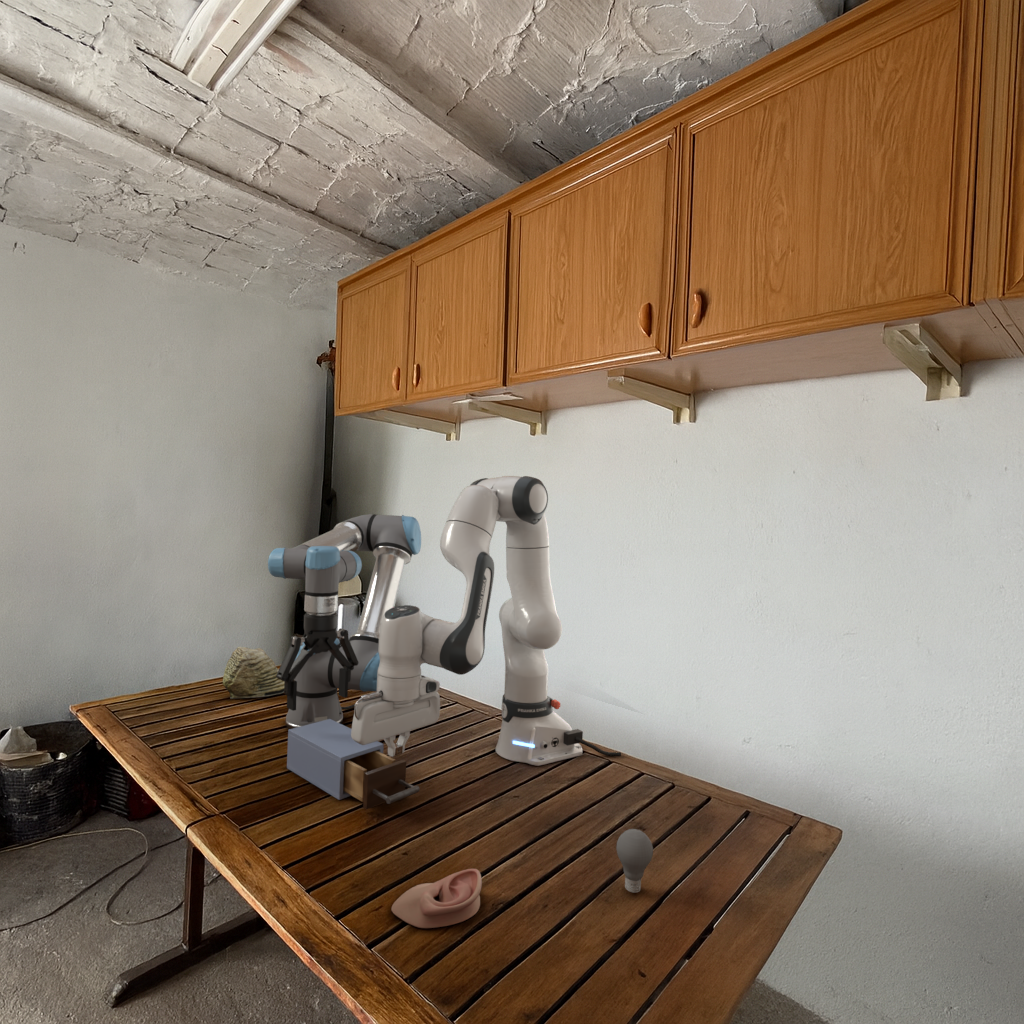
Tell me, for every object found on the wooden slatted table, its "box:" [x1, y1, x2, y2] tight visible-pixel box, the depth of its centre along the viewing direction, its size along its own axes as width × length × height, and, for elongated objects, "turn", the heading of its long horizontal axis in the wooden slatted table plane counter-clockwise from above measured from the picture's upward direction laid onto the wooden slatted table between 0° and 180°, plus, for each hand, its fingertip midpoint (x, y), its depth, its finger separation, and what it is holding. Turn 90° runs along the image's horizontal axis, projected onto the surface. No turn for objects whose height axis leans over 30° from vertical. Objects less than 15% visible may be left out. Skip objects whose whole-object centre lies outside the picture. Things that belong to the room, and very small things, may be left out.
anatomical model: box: [391, 868, 483, 929], centre depth 99 cm, size 13×4×12 cm
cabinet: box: [286, 719, 385, 801], centre depth 144 cm, size 21×11×9 cm, turn 49°
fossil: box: [222, 646, 284, 699], centre depth 198 cm, size 9×18×15 cm, turn 132°
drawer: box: [343, 750, 420, 810], centre depth 136 cm, size 26×10×7 cm, turn 49°
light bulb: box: [615, 828, 654, 894], centre depth 106 cm, size 6×6×10 cm
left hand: (318, 702), depth 149 cm, fingers open, 13 cm apart
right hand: (396, 754), depth 129 cm, fingers closed
